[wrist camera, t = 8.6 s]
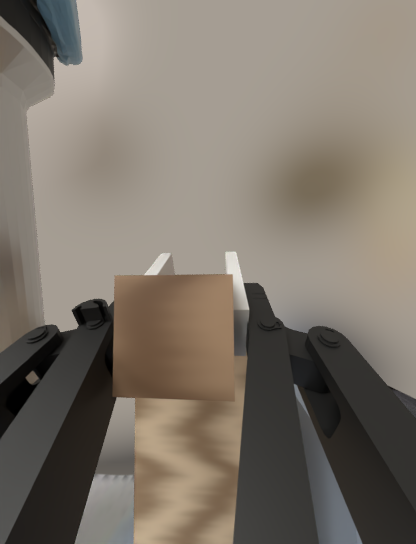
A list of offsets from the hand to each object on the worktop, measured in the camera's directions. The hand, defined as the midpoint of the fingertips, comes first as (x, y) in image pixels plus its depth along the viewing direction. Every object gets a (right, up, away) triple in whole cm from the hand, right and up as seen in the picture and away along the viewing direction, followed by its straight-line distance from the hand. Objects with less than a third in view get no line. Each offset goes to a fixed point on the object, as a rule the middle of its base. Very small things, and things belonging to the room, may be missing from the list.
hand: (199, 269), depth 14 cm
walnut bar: (0, -5, +5) cm, 7 cm away
